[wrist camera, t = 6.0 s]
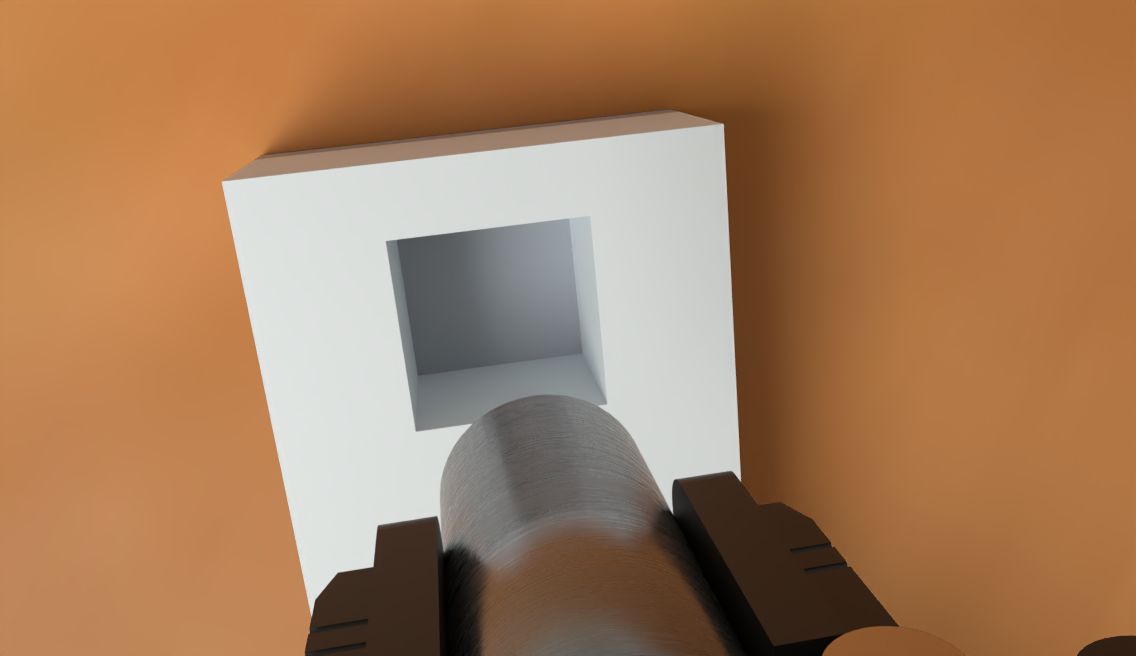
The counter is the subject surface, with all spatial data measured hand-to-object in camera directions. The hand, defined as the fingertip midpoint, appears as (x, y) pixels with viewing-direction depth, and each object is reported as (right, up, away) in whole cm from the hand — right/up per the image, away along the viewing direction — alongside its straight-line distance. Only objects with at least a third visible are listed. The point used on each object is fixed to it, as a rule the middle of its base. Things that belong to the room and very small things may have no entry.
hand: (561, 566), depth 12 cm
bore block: (-2, +1, +16) cm, 16 cm away
